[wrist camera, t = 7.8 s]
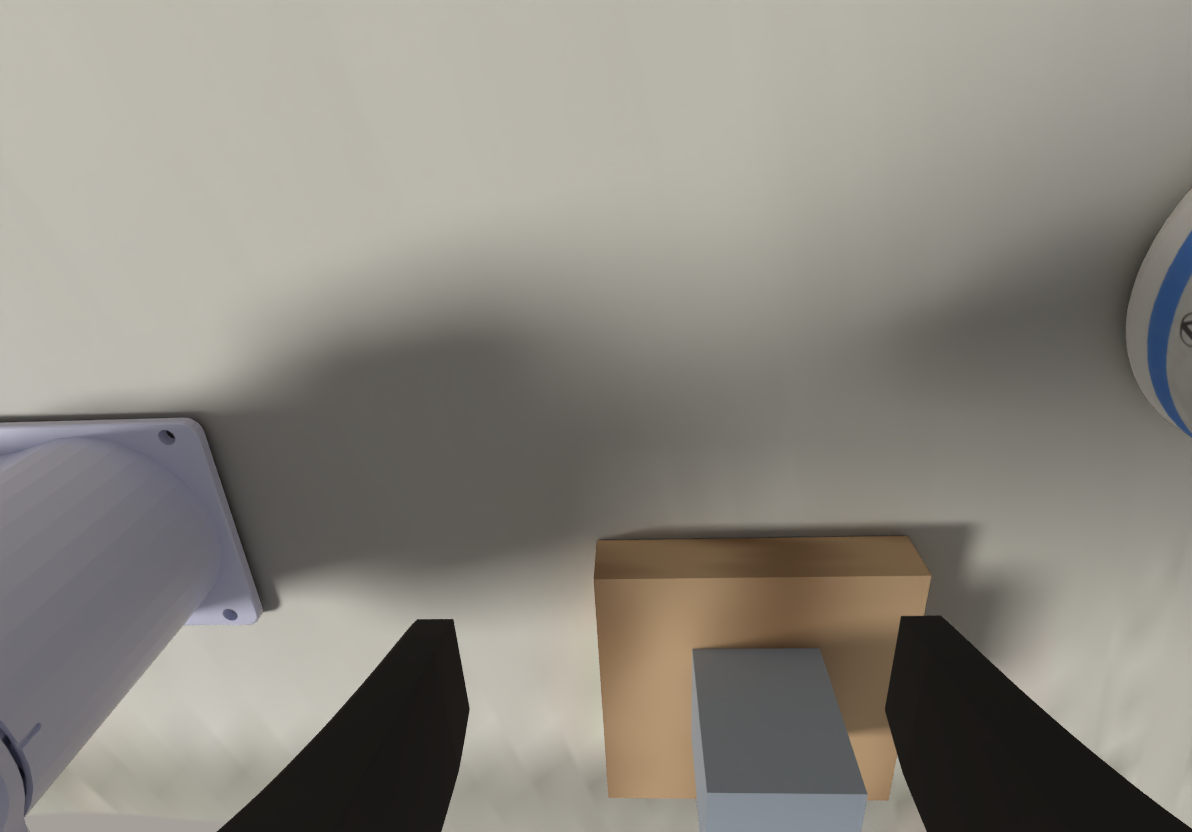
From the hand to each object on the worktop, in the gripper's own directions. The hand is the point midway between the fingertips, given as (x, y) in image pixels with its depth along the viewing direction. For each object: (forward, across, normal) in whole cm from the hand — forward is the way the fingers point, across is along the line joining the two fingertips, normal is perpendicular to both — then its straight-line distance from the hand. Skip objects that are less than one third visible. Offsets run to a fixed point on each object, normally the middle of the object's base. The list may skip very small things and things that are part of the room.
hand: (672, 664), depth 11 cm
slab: (+10, -3, +10) cm, 15 cm away
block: (+8, -3, +10) cm, 13 cm away
